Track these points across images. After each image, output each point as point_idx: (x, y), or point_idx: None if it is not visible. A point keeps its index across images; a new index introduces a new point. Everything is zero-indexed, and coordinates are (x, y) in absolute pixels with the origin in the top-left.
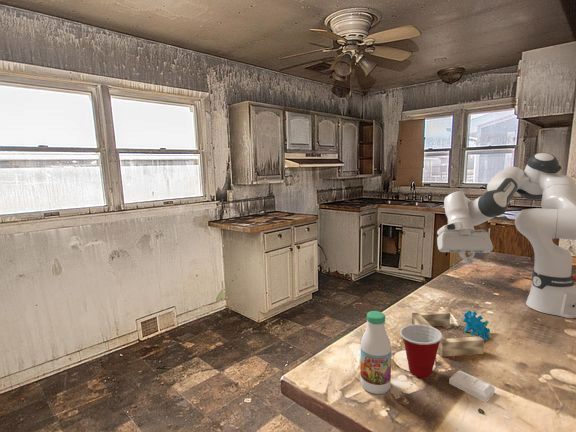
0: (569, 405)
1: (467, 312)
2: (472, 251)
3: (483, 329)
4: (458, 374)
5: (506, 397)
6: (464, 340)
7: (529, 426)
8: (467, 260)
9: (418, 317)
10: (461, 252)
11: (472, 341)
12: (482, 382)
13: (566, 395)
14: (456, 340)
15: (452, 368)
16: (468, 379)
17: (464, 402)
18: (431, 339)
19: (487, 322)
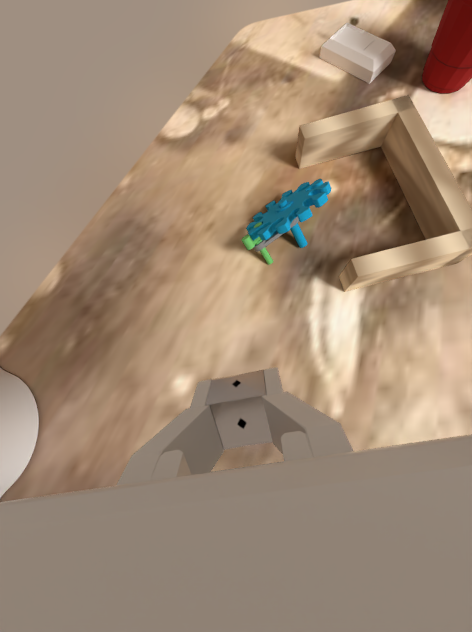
0: (219, 58)
1: (310, 211)
2: (150, 478)
3: (267, 213)
4: (380, 49)
5: (303, 53)
6: (349, 114)
7: (297, 13)
8: (262, 375)
9: (468, 213)
10: (347, 439)
11: (329, 119)
12: (339, 46)
13: (209, 76)
14: (370, 110)
15: (375, 100)
16: (365, 41)
17: (374, 30)
18: (469, 5)
19: (245, 236)
